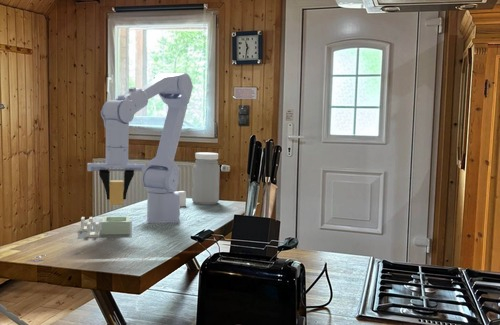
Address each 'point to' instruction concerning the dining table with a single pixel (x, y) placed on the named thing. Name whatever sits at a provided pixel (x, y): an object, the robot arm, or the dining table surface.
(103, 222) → the end holder
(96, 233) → the cable clip
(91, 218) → the cable clip
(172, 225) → the dining table surface
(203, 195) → the jar
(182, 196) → the napkin holder
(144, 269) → the dining table surface
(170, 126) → the robot arm
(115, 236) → the mat
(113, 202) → the connector plug
